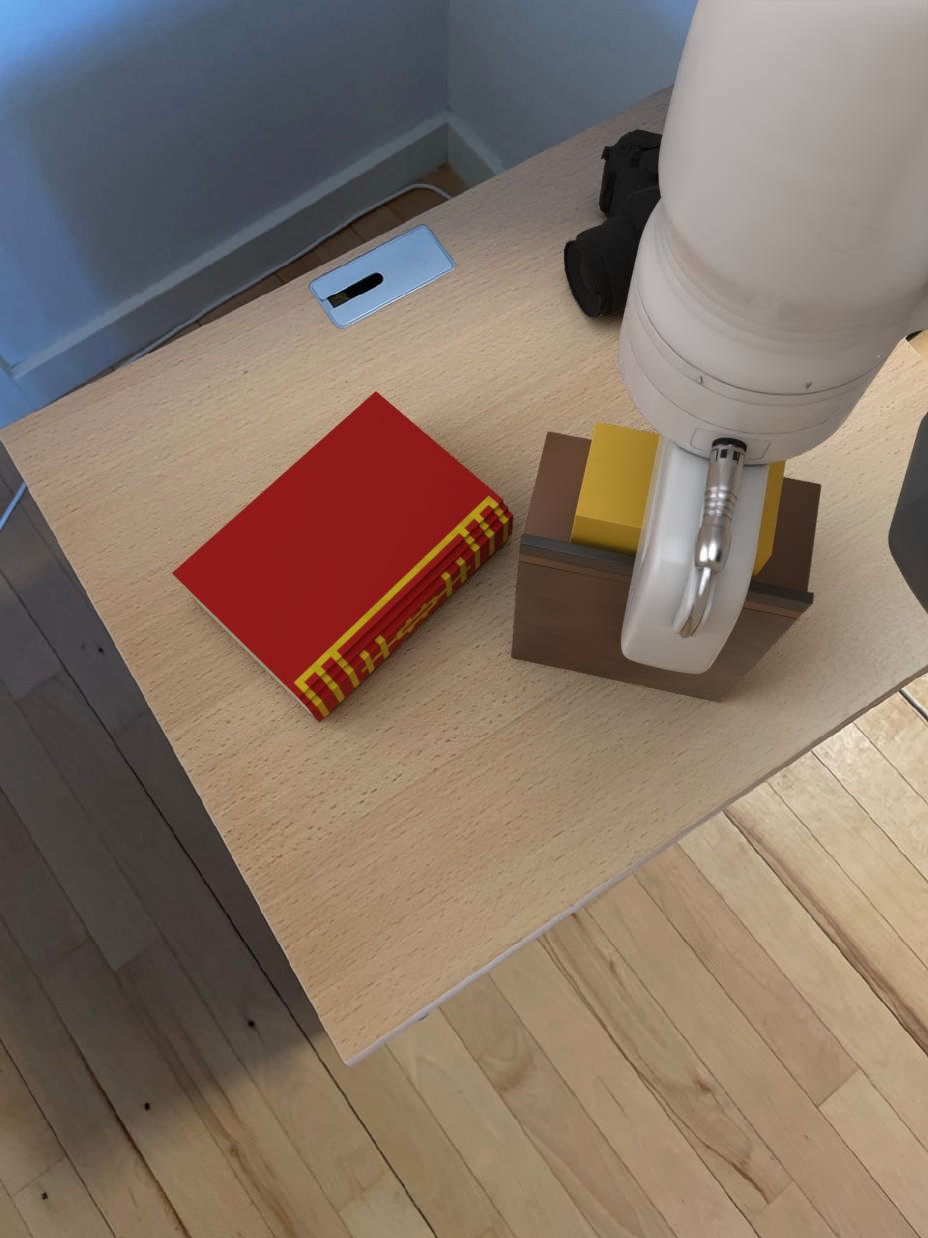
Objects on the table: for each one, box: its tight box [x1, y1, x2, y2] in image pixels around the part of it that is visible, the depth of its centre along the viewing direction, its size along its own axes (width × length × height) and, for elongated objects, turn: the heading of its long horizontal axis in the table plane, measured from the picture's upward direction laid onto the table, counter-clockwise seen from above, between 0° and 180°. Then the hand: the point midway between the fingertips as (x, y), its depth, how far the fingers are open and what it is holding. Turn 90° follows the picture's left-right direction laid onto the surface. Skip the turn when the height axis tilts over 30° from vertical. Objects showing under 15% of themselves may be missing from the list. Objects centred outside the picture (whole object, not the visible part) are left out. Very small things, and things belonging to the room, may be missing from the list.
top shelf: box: [518, 431, 822, 619], centre depth 49 cm, size 14×7×2 cm, turn 77°
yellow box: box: [570, 421, 787, 580], centre depth 47 cm, size 5×9×4 cm, turn 76°
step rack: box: [510, 559, 799, 704], centre depth 59 cm, size 14×13×17 cm
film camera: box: [563, 128, 663, 319], centre depth 71 cm, size 15×10×9 cm, turn 25°
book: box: [171, 390, 514, 724], centre depth 65 cm, size 18×13×5 cm
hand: (677, 503), depth 47 cm, fingers closed on yellow box, 5 cm apart
